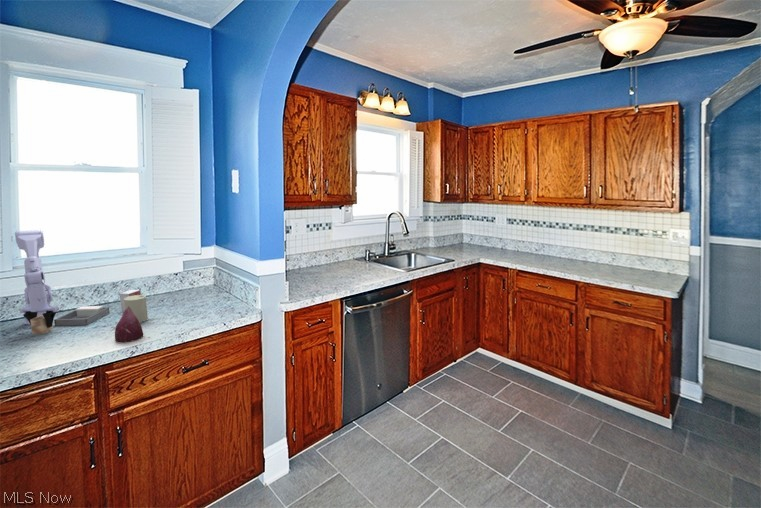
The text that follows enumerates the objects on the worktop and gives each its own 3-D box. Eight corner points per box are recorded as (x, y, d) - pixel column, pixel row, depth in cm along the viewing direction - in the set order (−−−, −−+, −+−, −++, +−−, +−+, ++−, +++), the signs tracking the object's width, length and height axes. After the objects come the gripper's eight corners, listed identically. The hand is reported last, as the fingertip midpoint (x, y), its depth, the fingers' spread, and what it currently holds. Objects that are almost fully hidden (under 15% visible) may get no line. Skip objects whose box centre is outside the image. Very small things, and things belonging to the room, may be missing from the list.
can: (151, 320, 194) (148, 296, 192) (129, 325, 187) (126, 300, 185) (144, 315, 200) (142, 292, 198) (123, 320, 194) (121, 296, 191)
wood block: (32, 334, 175) (30, 319, 174) (42, 329, 181) (40, 315, 180) (43, 334, 175) (41, 319, 174) (53, 329, 181) (51, 314, 180)
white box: (76, 317, 196) (75, 309, 195) (82, 314, 201) (81, 306, 200) (98, 316, 197) (97, 308, 196) (104, 313, 201) (103, 306, 201)
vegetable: (124, 341, 176) (121, 307, 177) (148, 337, 177) (144, 304, 178) (109, 344, 166) (106, 309, 167) (135, 341, 167) (131, 305, 168)
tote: (55, 327, 184) (54, 319, 184) (80, 314, 202) (79, 307, 201) (87, 326, 185) (86, 319, 185) (109, 313, 203) (108, 307, 202)
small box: (130, 313, 203) (128, 293, 201) (121, 313, 204) (119, 293, 202) (142, 309, 211) (140, 289, 209) (133, 308, 212) (131, 289, 210)
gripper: (12, 301, 171) (17, 330, 173) (48, 300, 172) (53, 330, 174) (25, 296, 178) (30, 325, 180) (60, 295, 179) (64, 324, 181)
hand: (42, 327), depth 178 cm, fingers open, 6 cm apart
